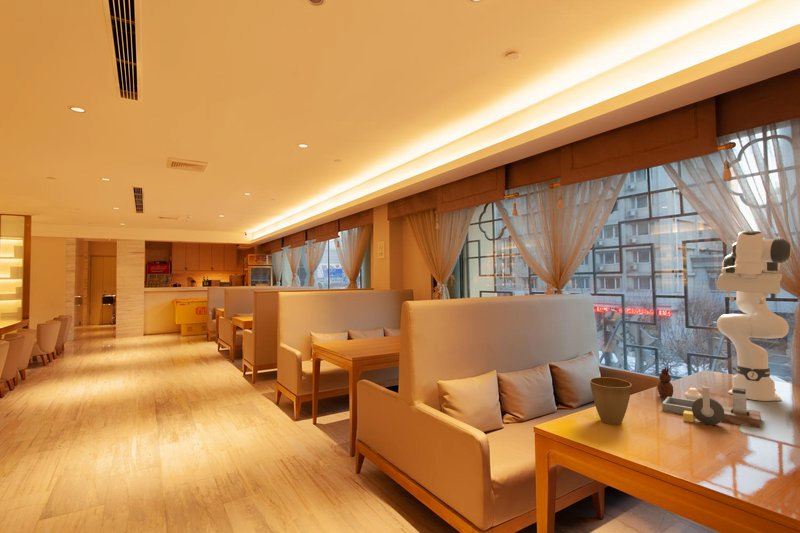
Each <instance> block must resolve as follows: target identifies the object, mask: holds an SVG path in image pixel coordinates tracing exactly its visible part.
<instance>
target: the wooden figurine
mask: <svg viewBox="0 0 800 533" xmlns="http://www.w3.org/2000/svg"><path fill="white" fill-rule="evenodd" d="M658 377H659V378H658V379H659V381H658V383H657V391H658V395H659V396H660V397H661V398H664V399H666V398H667V397H668V396H669V397H673V395H674V386H673V384H672V383H671V381H672V378H671V375H670V372H669V366H664V368H662V369H661V372H660V374H659V376H658Z"/></svg>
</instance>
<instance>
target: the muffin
mask: <svg viewBox="0 0 800 533" xmlns="http://www.w3.org/2000/svg"><path fill="white" fill-rule="evenodd" d="M684 396H685V399H687V400H694V401H695V400H697V399H698V398H701V397H702V394H700V392H699V391H698V389H697V388H695V387H690V388H689V387H688V389H687V391H686V392H684Z"/></svg>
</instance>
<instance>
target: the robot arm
mask: <svg viewBox="0 0 800 533" xmlns="http://www.w3.org/2000/svg"><path fill="white" fill-rule="evenodd" d="M791 255H792V246H791V243H790V242H789V241H788V240H787V239H784V238H775V239H772V238H771V239H769V238H767V239H765V238H764V235H763V232H761V231H758V230H744V231H740V232H739V233H738V235H737V238H736V242H734V243H732V251H731V252H730V254H727V255H726V256H724V258H723V261H722V262H721V269H720V271H721V273H720V274H719V275H718V279H717V281H716V282H717V283H716V289H717V290H718V291H726V294H727V296H728V297H729V302H730V303H732V302H733V303H734V302H736V304H735V305H736V308H738V310H739V311H741V312H742V313H727V314H726V313H725V314H721V315H720V316H719V317H718V319H717V321H716V327H717V329H718V331H719V332H720V334H722V335H724V336H726V337H727V338H728V339H729V340H730V341H731V342H732V343H733V345H734V347H735V351H736V356H737V357H736V358H737V365H736V368H735V369H736V374H735V375H734V376H732V388H731V389H729V390H728V391H727V392H728V394H730V395H732V389H733V387H734V388H741V389H746V400H747V399H749V400H755V401H760V402H762V401H764V402H771V401H773V402H774V401H782V398H781V396H779V395H778V394H777V393H776V391H777V390H776V385H775V384H776V383H775V381H774V380H773V379H772V378H771V377H770V376H771V369H770V368H769V353H768V351H767V349H765V348H764V347H763V346H760V345H758V344H756V343H754V342H752V341H751V340H750V338H751V339H752V338H754V339H769V340H771V339H780V338H781V339H782V338H784V337H786V336H787V334H789V332H790V325H789V323H788V321H787V320H786V319H785V318H784V317H783V316H780V315H778V314H776V313H774V312H773V311H772V310H771V309H770V308H769V306H768V304H767V298H768V297H769V294H772V295H773V294H776V295H777V294H779V293H781V284H780V283H781V281H782V280H783V274H782V273H781V272H780V271H779V270H780V268H781V264H782V263H784V262H786V261H788V260H789V259H790V257H791ZM732 292H736V294H735V297H732V296H731V294H732ZM735 298H736V299H735ZM735 300H736V301H735Z"/></svg>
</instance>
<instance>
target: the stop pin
mask: <svg viewBox="0 0 800 533" xmlns="http://www.w3.org/2000/svg"><path fill="white" fill-rule="evenodd" d="M731 389H732V394H731V396H732V407H733V413H735V414H741V415H747V410H748V409H747V405H748V404H747V398H746V389H741V388H734V387H733V386H732V388H731Z"/></svg>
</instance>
